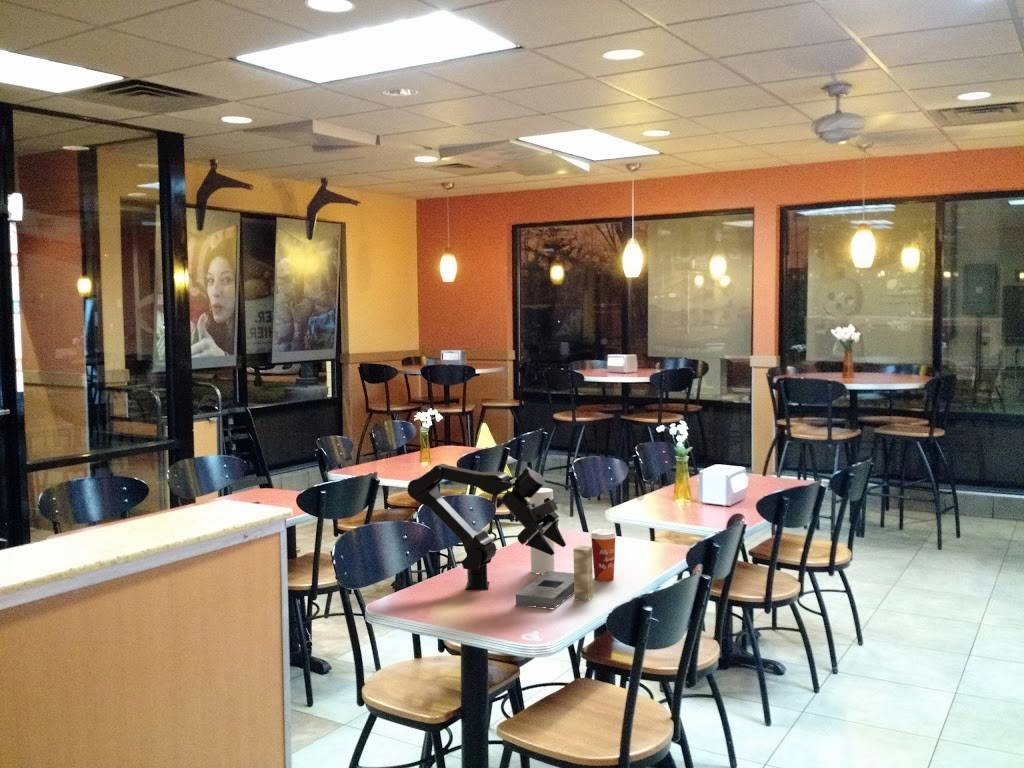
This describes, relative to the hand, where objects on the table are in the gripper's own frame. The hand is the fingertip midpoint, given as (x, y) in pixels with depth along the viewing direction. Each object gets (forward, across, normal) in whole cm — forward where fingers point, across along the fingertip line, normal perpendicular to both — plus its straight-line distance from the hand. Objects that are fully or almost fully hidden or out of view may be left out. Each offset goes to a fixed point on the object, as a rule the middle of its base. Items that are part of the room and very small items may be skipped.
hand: (559, 550), depth 254 cm
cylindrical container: (0, +21, +19) cm, 28 cm away
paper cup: (+14, +19, +4) cm, 24 cm away
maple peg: (+14, 0, +4) cm, 15 cm away
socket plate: (+7, 0, +11) cm, 13 cm away
